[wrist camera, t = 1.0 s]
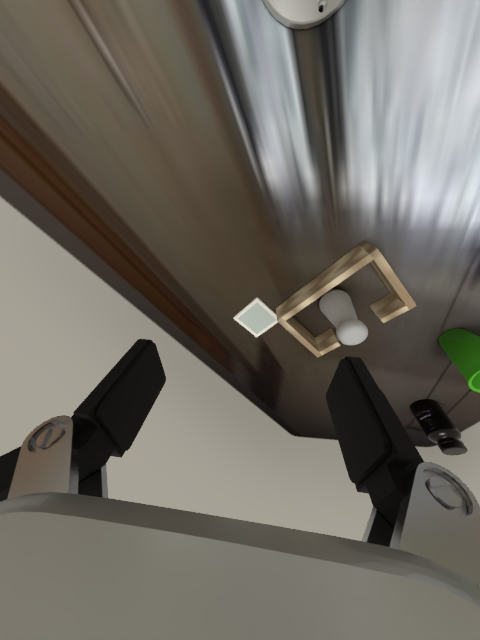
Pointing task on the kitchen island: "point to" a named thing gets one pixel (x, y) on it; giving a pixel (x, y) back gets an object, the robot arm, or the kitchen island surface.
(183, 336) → the kitchen island surface
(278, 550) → the robot arm
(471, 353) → the cup
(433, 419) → the supplement bottle
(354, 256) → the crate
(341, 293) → the salt shaker
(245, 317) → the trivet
